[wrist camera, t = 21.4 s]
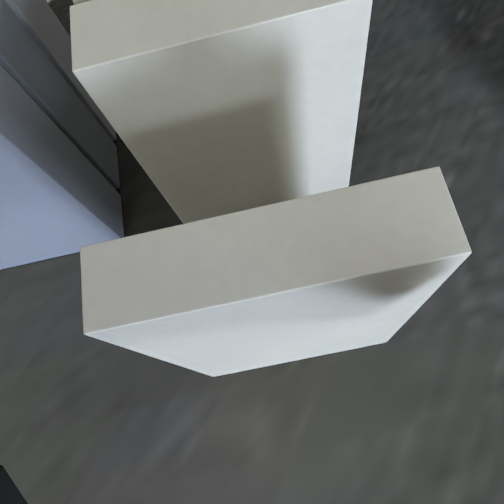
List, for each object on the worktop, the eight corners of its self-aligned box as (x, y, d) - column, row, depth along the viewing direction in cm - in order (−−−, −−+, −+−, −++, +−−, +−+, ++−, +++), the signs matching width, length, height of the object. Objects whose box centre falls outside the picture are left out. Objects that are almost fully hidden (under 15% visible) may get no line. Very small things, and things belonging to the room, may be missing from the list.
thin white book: (387, 342, 25) (473, 252, 11) (212, 377, 26) (82, 334, 12) (374, 299, 26) (439, 165, 12) (206, 333, 26) (78, 246, 12)
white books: (346, 202, 28) (374, -7, 14) (192, 237, 29) (71, 71, 15) (322, 118, 30) (325, -134, 16) (180, 152, 31) (66, -61, 17)
